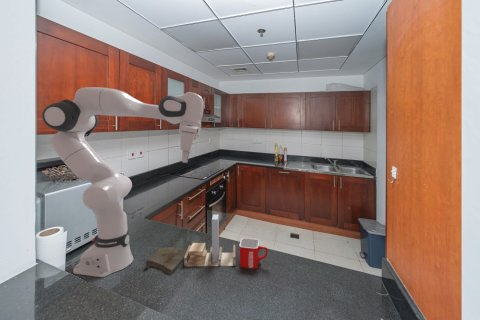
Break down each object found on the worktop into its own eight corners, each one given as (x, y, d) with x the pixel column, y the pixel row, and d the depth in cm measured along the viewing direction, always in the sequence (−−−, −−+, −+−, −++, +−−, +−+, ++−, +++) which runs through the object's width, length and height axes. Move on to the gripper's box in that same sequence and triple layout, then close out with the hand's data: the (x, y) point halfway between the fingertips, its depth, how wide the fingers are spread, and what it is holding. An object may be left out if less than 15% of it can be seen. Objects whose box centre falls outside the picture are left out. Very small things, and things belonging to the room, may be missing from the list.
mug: (238, 270, 89) (238, 246, 87) (241, 258, 97) (241, 237, 95) (266, 273, 86) (267, 249, 85) (267, 261, 95) (267, 239, 93)
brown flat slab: (172, 279, 83) (172, 269, 83) (140, 274, 86) (139, 265, 85) (190, 255, 99) (189, 247, 99) (162, 252, 102) (162, 244, 102)
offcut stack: (188, 265, 89) (187, 252, 88) (192, 254, 97) (191, 242, 97) (205, 265, 89) (204, 252, 89) (207, 254, 98) (207, 242, 97)
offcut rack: (184, 269, 89) (184, 257, 88) (189, 256, 99) (189, 245, 98) (235, 268, 89) (235, 257, 89) (235, 255, 99) (235, 244, 99)
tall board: (212, 262, 91) (211, 219, 89) (213, 255, 97) (213, 214, 94) (217, 262, 91) (217, 219, 89) (218, 255, 97) (218, 214, 94)
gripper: (183, 133, 98) (179, 161, 97) (180, 125, 78) (174, 161, 77) (197, 135, 99) (192, 163, 99) (197, 128, 79) (191, 163, 79)
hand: (184, 162), depth 88 cm, fingers open, 8 cm apart
